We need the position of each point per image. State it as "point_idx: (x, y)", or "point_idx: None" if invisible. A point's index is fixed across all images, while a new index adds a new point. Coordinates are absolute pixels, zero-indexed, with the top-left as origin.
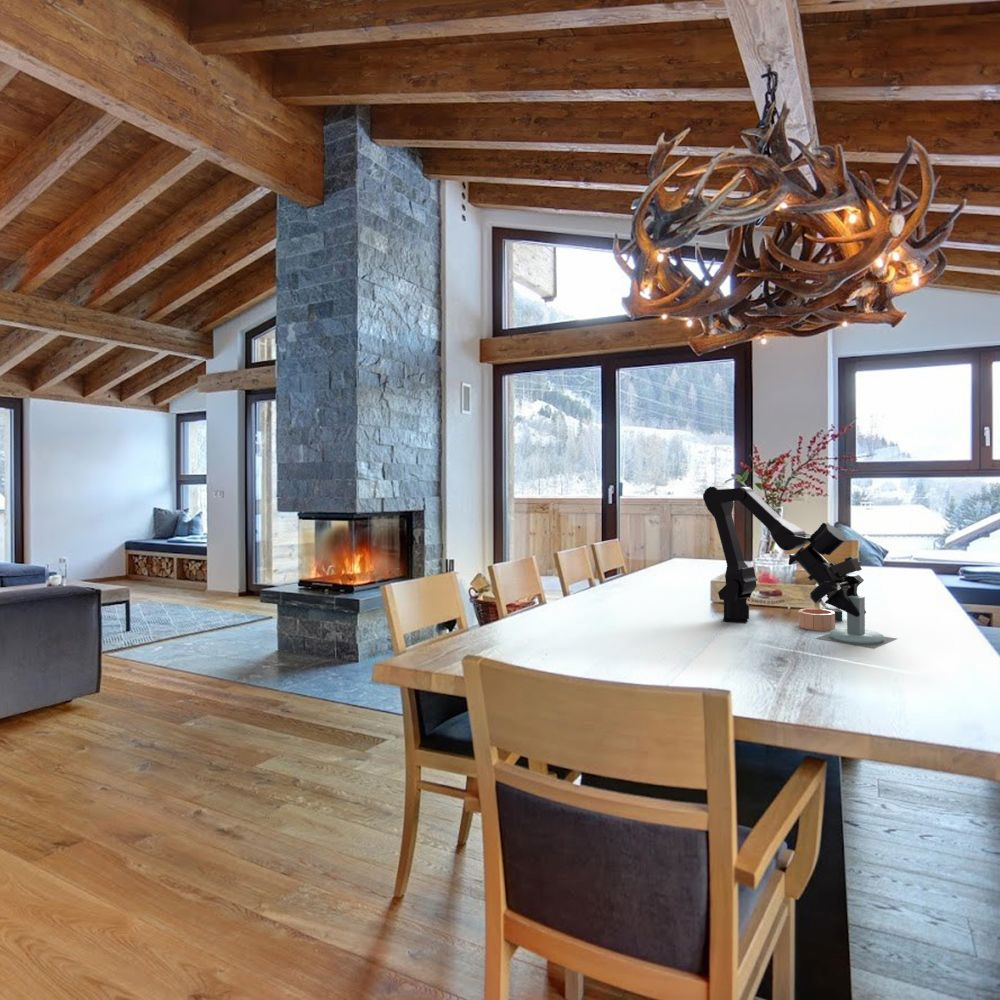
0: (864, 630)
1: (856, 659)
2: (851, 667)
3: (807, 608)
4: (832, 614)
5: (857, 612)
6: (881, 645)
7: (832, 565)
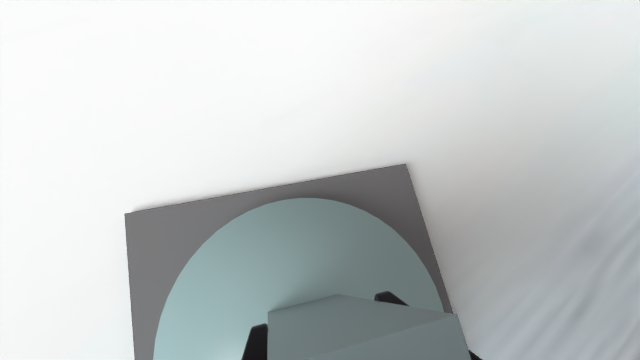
0: (274, 311)
1: (557, 129)
2: (630, 89)
3: None
4: None
5: (407, 305)
6: (329, 177)
7: None
